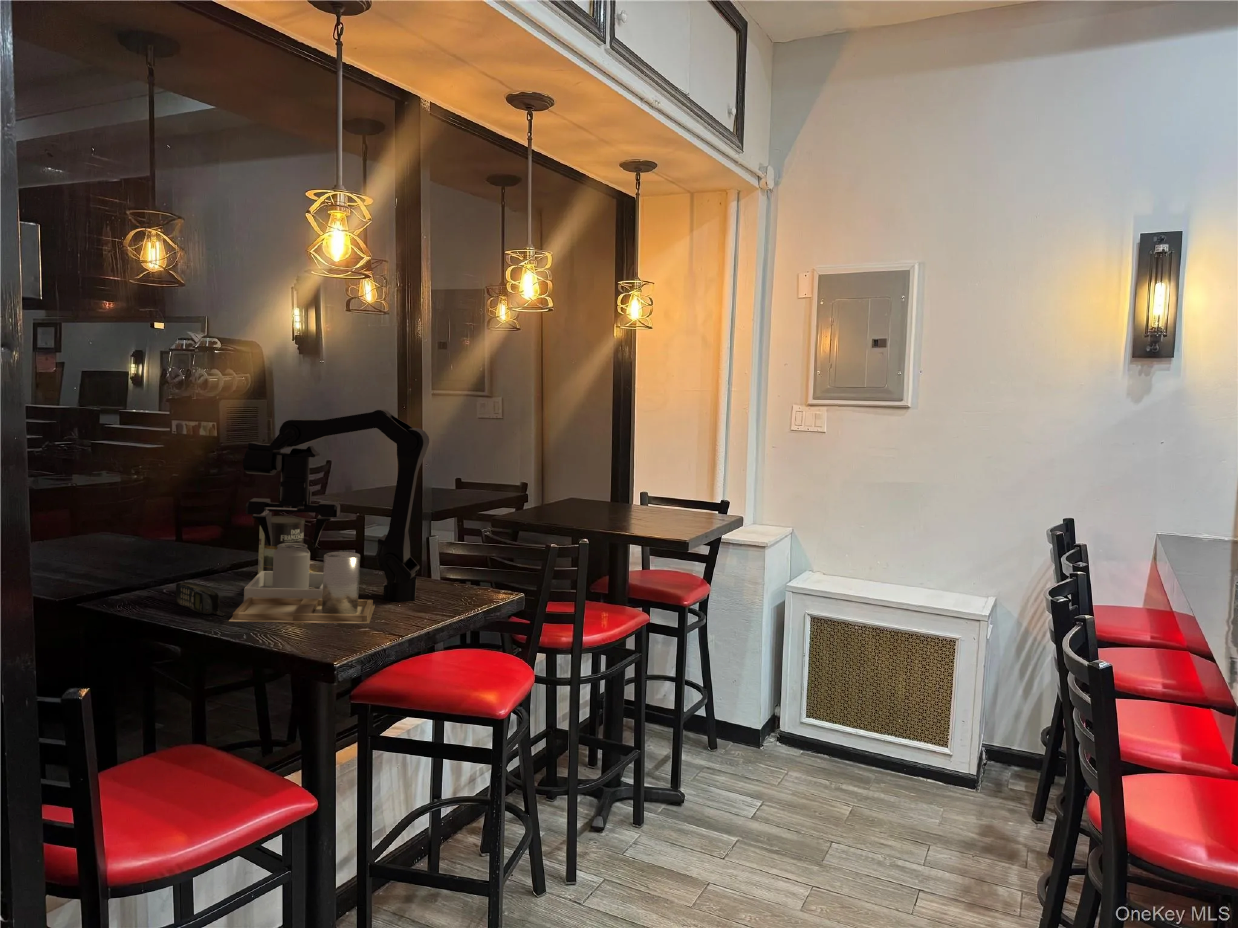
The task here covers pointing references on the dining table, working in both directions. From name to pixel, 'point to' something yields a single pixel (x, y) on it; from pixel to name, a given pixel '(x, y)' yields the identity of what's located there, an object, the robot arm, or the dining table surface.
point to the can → (291, 566)
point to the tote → (266, 580)
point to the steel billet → (340, 583)
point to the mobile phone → (198, 598)
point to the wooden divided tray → (297, 611)
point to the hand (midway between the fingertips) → (292, 546)
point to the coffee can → (279, 538)
